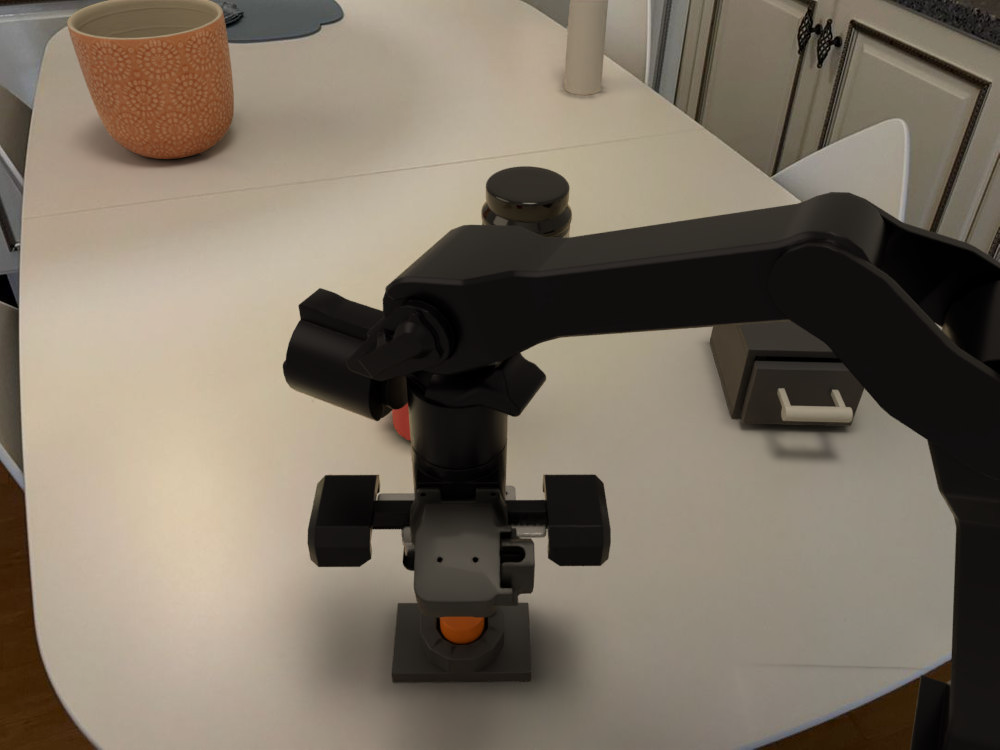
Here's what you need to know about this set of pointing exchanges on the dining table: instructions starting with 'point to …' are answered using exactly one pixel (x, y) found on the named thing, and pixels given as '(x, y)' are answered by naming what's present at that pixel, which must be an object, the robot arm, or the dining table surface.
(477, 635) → the button
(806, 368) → the drawer
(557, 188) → the supplement container
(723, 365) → the small storage cabinet
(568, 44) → the bottle
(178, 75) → the planter
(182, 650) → the dining table surface
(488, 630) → the control block
